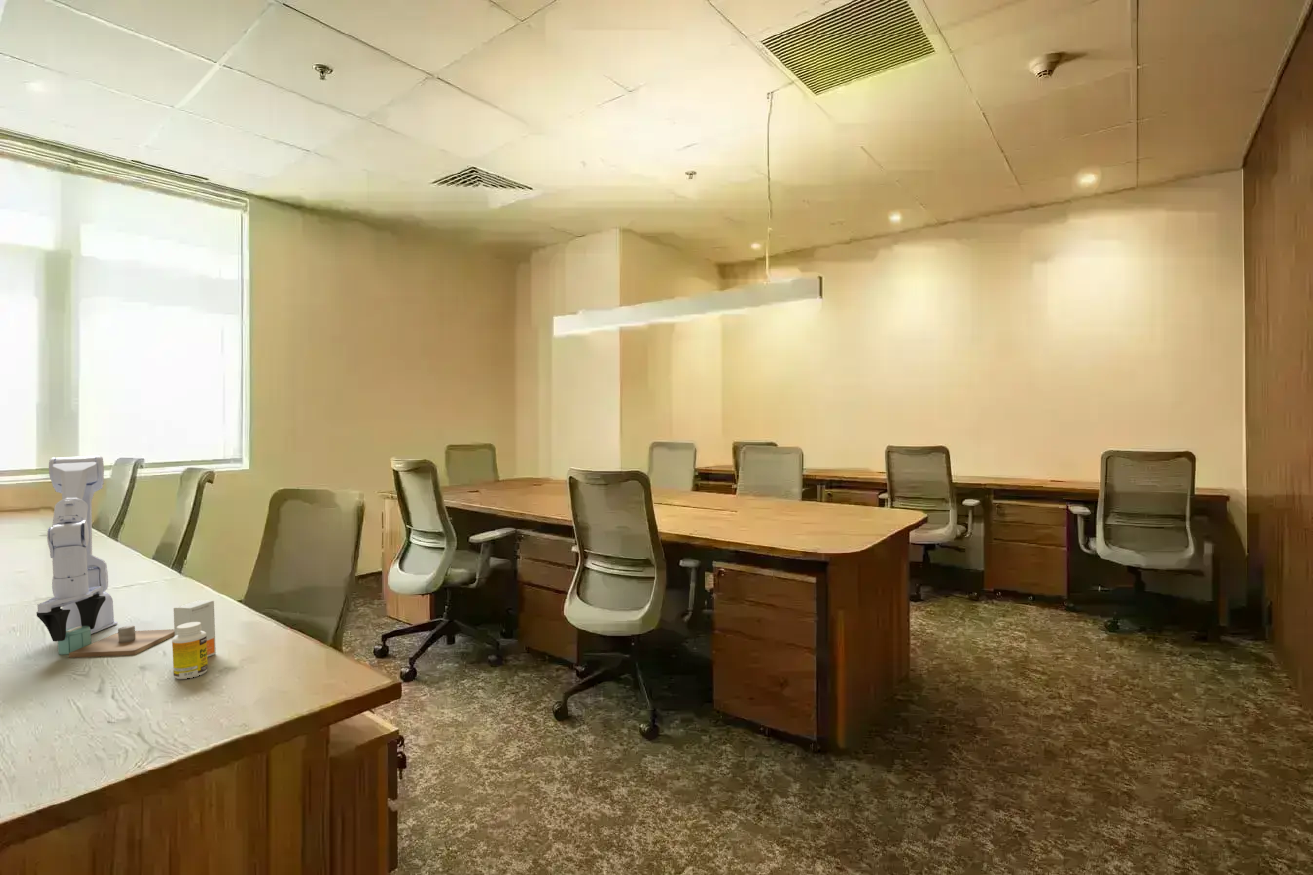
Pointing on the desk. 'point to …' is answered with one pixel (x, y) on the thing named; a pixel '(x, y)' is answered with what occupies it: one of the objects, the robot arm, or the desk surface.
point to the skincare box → (198, 620)
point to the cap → (75, 639)
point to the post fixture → (124, 643)
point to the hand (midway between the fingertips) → (74, 634)
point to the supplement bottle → (189, 651)
